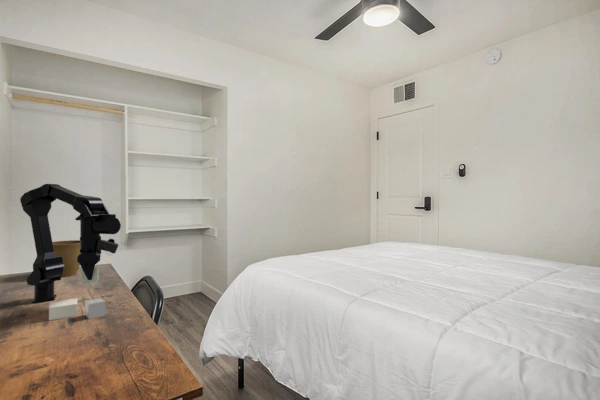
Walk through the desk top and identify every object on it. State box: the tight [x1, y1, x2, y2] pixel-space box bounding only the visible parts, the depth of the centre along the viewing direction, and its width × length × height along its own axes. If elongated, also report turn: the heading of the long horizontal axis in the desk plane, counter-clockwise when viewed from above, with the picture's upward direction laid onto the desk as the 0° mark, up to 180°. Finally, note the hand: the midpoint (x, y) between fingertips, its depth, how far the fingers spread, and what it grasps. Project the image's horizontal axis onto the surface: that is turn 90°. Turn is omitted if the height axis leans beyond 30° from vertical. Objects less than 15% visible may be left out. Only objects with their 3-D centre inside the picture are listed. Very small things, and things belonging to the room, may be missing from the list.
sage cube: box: [81, 266, 99, 285], centre depth 112 cm, size 4×4×4 cm
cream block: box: [48, 297, 78, 321], centre depth 102 cm, size 7×7×4 cm
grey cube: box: [84, 297, 106, 320], centre depth 102 cm, size 4×4×4 cm
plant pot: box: [52, 239, 81, 278], centre depth 155 cm, size 15×15×16 cm
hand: (90, 278), depth 112 cm, fingers closed on sage cube, 4 cm apart
